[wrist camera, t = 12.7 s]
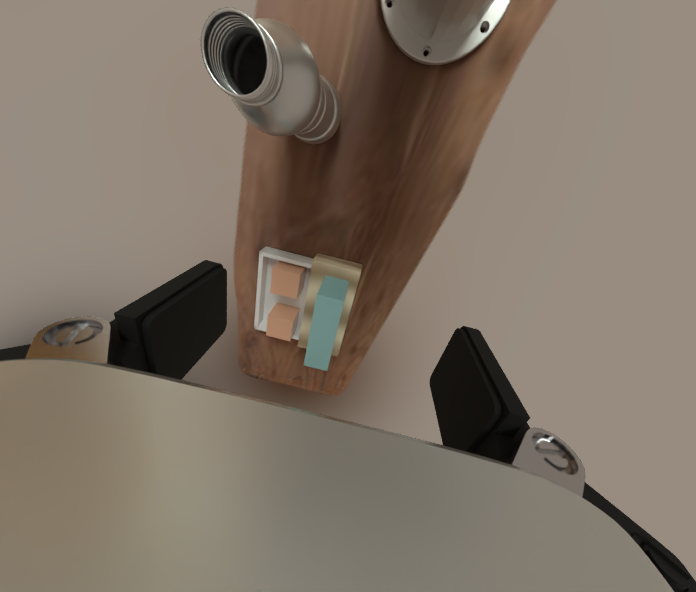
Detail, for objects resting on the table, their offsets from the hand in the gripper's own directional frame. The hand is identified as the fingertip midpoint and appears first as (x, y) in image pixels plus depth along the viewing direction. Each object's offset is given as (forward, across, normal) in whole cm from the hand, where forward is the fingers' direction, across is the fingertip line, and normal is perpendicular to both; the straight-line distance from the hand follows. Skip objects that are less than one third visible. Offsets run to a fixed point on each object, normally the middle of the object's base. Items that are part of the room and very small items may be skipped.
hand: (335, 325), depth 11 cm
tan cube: (+26, +7, +12) cm, 29 cm away
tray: (+28, +9, +16) cm, 34 cm away
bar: (+25, +2, +16) cm, 30 cm away
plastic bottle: (+28, +8, -9) cm, 31 cm away
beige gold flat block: (+28, +2, +16) cm, 33 cm away
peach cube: (+26, +7, +20) cm, 33 cm away
